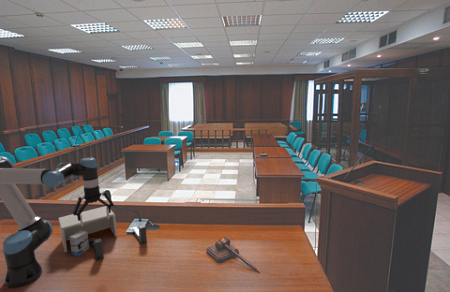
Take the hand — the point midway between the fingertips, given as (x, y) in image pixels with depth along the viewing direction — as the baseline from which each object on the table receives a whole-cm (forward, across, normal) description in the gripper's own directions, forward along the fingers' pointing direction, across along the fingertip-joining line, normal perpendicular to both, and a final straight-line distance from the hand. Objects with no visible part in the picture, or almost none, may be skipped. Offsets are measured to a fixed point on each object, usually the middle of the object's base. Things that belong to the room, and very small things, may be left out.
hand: (95, 221), depth 145 cm
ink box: (+23, +8, -14) cm, 28 cm away
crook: (+23, +4, -9) cm, 25 cm away
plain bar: (+23, -26, -9) cm, 35 cm away
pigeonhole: (+23, 0, -27) cm, 35 cm away
